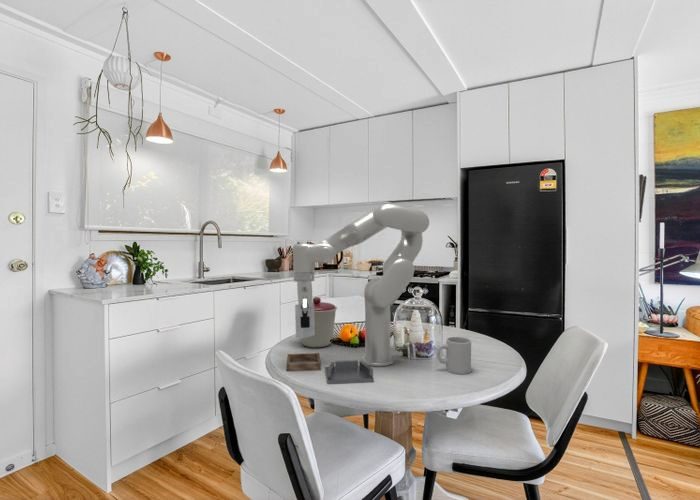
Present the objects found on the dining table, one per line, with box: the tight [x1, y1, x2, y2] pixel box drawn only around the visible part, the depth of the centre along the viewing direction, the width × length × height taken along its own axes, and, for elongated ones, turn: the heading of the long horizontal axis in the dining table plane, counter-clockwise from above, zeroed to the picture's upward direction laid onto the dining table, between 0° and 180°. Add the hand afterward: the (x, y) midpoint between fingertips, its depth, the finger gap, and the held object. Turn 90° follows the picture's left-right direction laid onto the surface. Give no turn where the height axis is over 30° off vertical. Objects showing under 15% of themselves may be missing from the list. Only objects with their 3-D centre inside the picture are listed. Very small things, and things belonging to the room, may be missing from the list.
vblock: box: [324, 359, 375, 385], centre depth 130 cm, size 15×13×4 cm
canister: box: [300, 296, 338, 348], centre depth 168 cm, size 18×18×21 cm
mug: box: [436, 336, 472, 375], centre depth 136 cm, size 12×8×11 cm
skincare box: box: [294, 303, 315, 339], centre depth 141 cm, size 6×4×12 cm
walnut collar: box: [286, 352, 322, 372], centre depth 141 cm, size 12×12×2 cm
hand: (305, 324), depth 141 cm, fingers closed on skincare box, 7 cm apart
